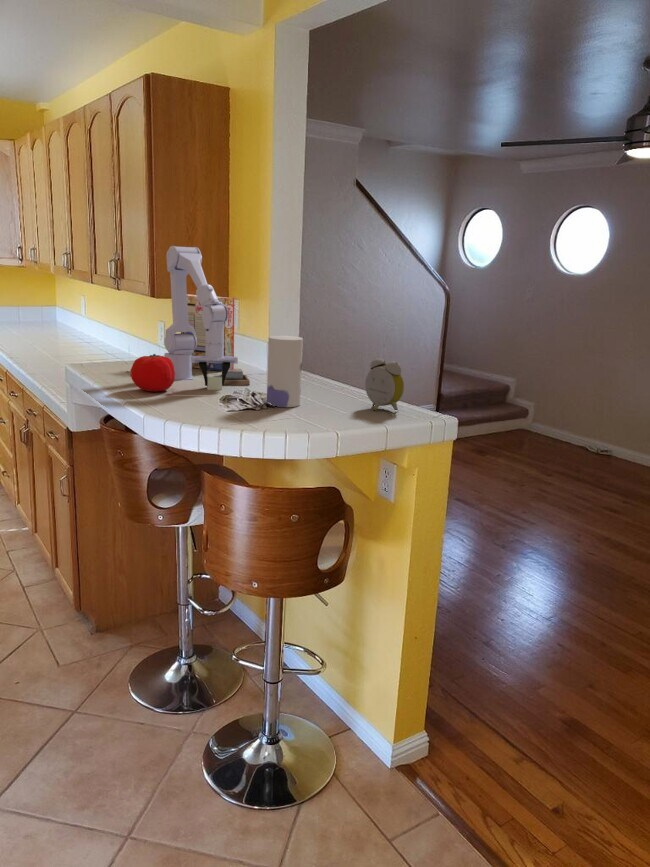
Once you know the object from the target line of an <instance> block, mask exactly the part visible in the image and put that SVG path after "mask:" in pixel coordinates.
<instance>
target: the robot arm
mask: <svg viewBox="0 0 650 867" xmlns="http://www.w3.org/2000/svg"><path fill="white" fill-rule="evenodd" d="M165 256H166V268H167V270H166V271H167V272H168V273H170V274H169V275H170V276H169V277H170V294H171V296H170V298H171V313H172V324H170V326H169V327H167V329H165V336H164V342H163V343H164V347H165V350H167V352H164V355H165V356H164V355H163V356H164V357H168V358H169V359H170V360H171V361H172V363H173V365H174V370H175V380H174V381H177V380H179V381H180V380H181V381H183V380H184V381H185V380H186V381H187V380H188V381H192V380H193V381H194V376H193V372H192V371H193V368H192V363H199V366H200V368H201V369H200V368H199V369H200V370H201V373H202V376H203V380H204V386H205V387H207V384H208V382H207V375H208V369H207V363H222V364H221V365H222V371H221V374H222V387H224V386H225V385H224V381H225V378H226V375H227V372H228V370H229V368H230V363H234V365H236V364H238V363H239V362H238V356H234V357H229V356H224V323H225V322H226V321H227V318H228V311H227V308H226V306H225V305H224V304H222V302H219V300H218V298H217V297H218V295H217V294H216V291H215V289H214V287H213V286H212V285H211V284H208V281H207V279H206V276H205V272H204V269H203V266H202V263H203V256H202V252H201V250H200V249H199V247H197V246H193V247H192V246H190V247H189V246H176V245H171V246H170V247H169V248H168V250H167V252H166V255H165ZM188 275H189V276H190V278H191V279H192V282H193V283H194V285H195V287H196V288H197V289H196V290H195V295H197V297H198V300H199V302H200V304H201V306H202V309H203V311H202V319H203V322H204V328H206V345H205V356H192V353H194V350H195V349H196V347H197V338H196V335H195V329H194V328H193V327H191V326H190V325H189V324H188V306H187V294H188V292H187V290H188V288H187V276H188ZM181 332H186V333H181Z"/></svg>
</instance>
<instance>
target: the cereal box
mask: <svg viewBox="0 0 650 867" xmlns="http://www.w3.org/2000/svg"><path fill="white" fill-rule="evenodd" d="M217 298H218V300H219V302H222V304H224V305H225V306H226V308H227V311H228V318H227V321H226V322H225V323H224V356H229V357H235V297H229V296H228V297H225V296H224V297H223V296H217ZM187 306H188V324H189V325H190V326H191V327H193V328H194V329H195V335H196V338H197V347H196V349H195V350H194V353H192V356H205V345H206V328H204V322H203V319H202V311H203V309H202V306H201V304H200V302H199V300H198V297H197V295H196V294H188V293H187ZM180 333H186V332H180ZM221 364H222V363H207V371H208V370H209V371H215V372H217V371H218V372H222V365H221ZM194 368H195V369H200V370H201V368H200V366H199V363H192V369H194ZM229 369H235V364H234V363H230V368H229Z"/></svg>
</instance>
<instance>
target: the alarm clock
mask: <svg viewBox="0 0 650 867" xmlns="http://www.w3.org/2000/svg"><path fill="white" fill-rule="evenodd" d="M369 367H370V371H369V372H368V373H367V375H366V377H365V382H364V388H365V393H366V395H367V397H368V399H369V400H370V401H371V403H372V406H373V405H375V406H373V409H372V411H373V410H375V411H377V409H378V408H379V407H385V406H392V408H393V410H394V411H395V410H398V405H397V403H398V402H399V401H400V400H401V399H402V397H403V395H404V393H405V392H404V391H405V380H404V378H403V376H402V366H401V364H400V363H399V362H398V361H395V360H392V361H388V362H387V363H386V361H385V360H384V359H383V358H379V357H378V358H377V357H375V358H374V359H373V360H372V361H371V363H370V365H369ZM398 411H399V410H398Z"/></svg>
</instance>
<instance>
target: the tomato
mask: <svg viewBox="0 0 650 867" xmlns="http://www.w3.org/2000/svg"><path fill="white" fill-rule="evenodd" d="M164 356H165V355H159V354H156V353H153V354H150V355H143V356H140V357H138V358H136V359H134V362H133V363H132V364H131V369H130V377H131V380H132V383H134V385H135V386H136V387H138V388H139V389H140V390H142V391H147V392H162V391H166V390H169V389H170V388H171V387H172V385H173V384H174V382H175V381H176V380H175V370H174V365H173V363H172V361H171V360H170V359H169V358H168V357H164Z"/></svg>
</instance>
